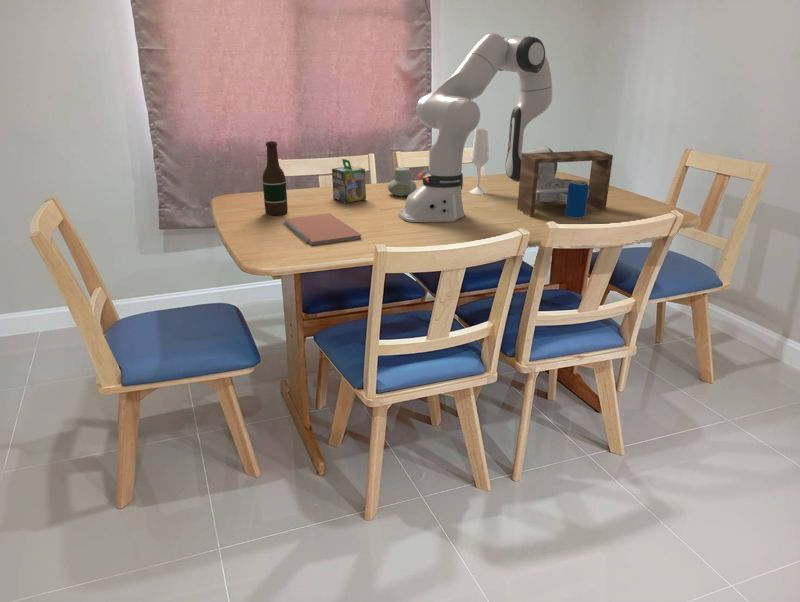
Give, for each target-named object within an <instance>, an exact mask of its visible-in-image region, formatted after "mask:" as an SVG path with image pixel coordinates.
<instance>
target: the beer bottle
mask: <svg viewBox="0 0 800 602" xmlns="http://www.w3.org/2000/svg"><path fill="white" fill-rule="evenodd" d="M265 146H266V167H265V169H264V170H263V174H262V188H263V200H264V201H263V203H264V210H265V211H264V212H265V214H266V215H267V216H271V217H278V216H279V215H280V216H284V215H286V213H287V214H288V209H289V207H288V196H287V195H288V193H287V180H286V175H285V172H284V170H283V169H282V168H281V166H280V164H279V163H280V162H279V154H278V147H277V146H278V142H276V141H273V140H272V141H267V142H266V141H265Z"/></svg>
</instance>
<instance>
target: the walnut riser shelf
mask: <svg viewBox="0 0 800 602" xmlns="http://www.w3.org/2000/svg"><path fill="white" fill-rule="evenodd" d="M613 159H614V154H610V153H607V152H604V151H600V150H598V149H596V150H595V149H594V150H576V151H575V150H574V151H570V150H569V151H553V152H547V153H525V154H522V157H521V169H520V181H519V182H518V183H519V184H518V193H517V194H518V196H517V207H516V209H518V211H519V210H520V211H519V212H521V211H522V212H524V213H526V214H527V215H526V214H525V215H526V216H528V215H529V216H534V217H535V211H536V210H535V209H536V202H537V201H536V190H537V179H538V168H539V163H556V162H557V163H571V162H572V163H574V162H590V161H591V165H590V174H589V181H588V186H589V197H588V198H587V204H586V206H589V207H591V208H593V209H595V210H597V211H599V212H606V211H607V210H606V209H607V201H608V194H609V188H610V181H611V173H612V166H613ZM522 212H521V213H522ZM524 213H523V214H524ZM529 216H528V217H529Z"/></svg>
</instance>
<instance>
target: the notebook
mask: <svg viewBox="0 0 800 602" xmlns="http://www.w3.org/2000/svg"><path fill="white" fill-rule="evenodd" d="M283 225H284V226H285V227H286V228H287V229H288V230H290V231H291V232H292V233H293V234H294V235H295V236H297V237H298V238H299V239H300V241H302V242H304V243H305V244H306V245H307V243H308V244H309V245H310V246H314V245H315V246H316V245H322V244H331V243H338V242H343V241H344V240H347V241H352V240H351V239H354V240H359V239H358V238H361V236H363V235H362V234H361V233H359V232H358V231H357V230H355V229H354V228H352V227H351V226H349V225H348V224H346V223H345V222H344V221H342V220H341V219H339V218H337V217H336V216H334V215H333V214H332V213H323V214H321V213H320V214H315V215H305V216H297V217H296V216H295V217H290V218H284V221H283Z"/></svg>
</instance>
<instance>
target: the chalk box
mask: <svg viewBox="0 0 800 602" xmlns="http://www.w3.org/2000/svg"><path fill="white" fill-rule="evenodd" d="M341 161H342V164H343V166H339V167H334V168H331V172H332V173H331V176H332V180H331V181H332V196H333V198H334V199H333V200H336V199H337V201H339V202H341V201H342V203H344V202H345V203H344V204H348V202H350V203H355V202H358V201H359V202H360V201H365V200H367V194H366V193H367V192H366V189H367V188H366V168H363V167H359V166H355V165H352V163H351V161H350V160H348V159H345V158H342V159H341Z"/></svg>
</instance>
